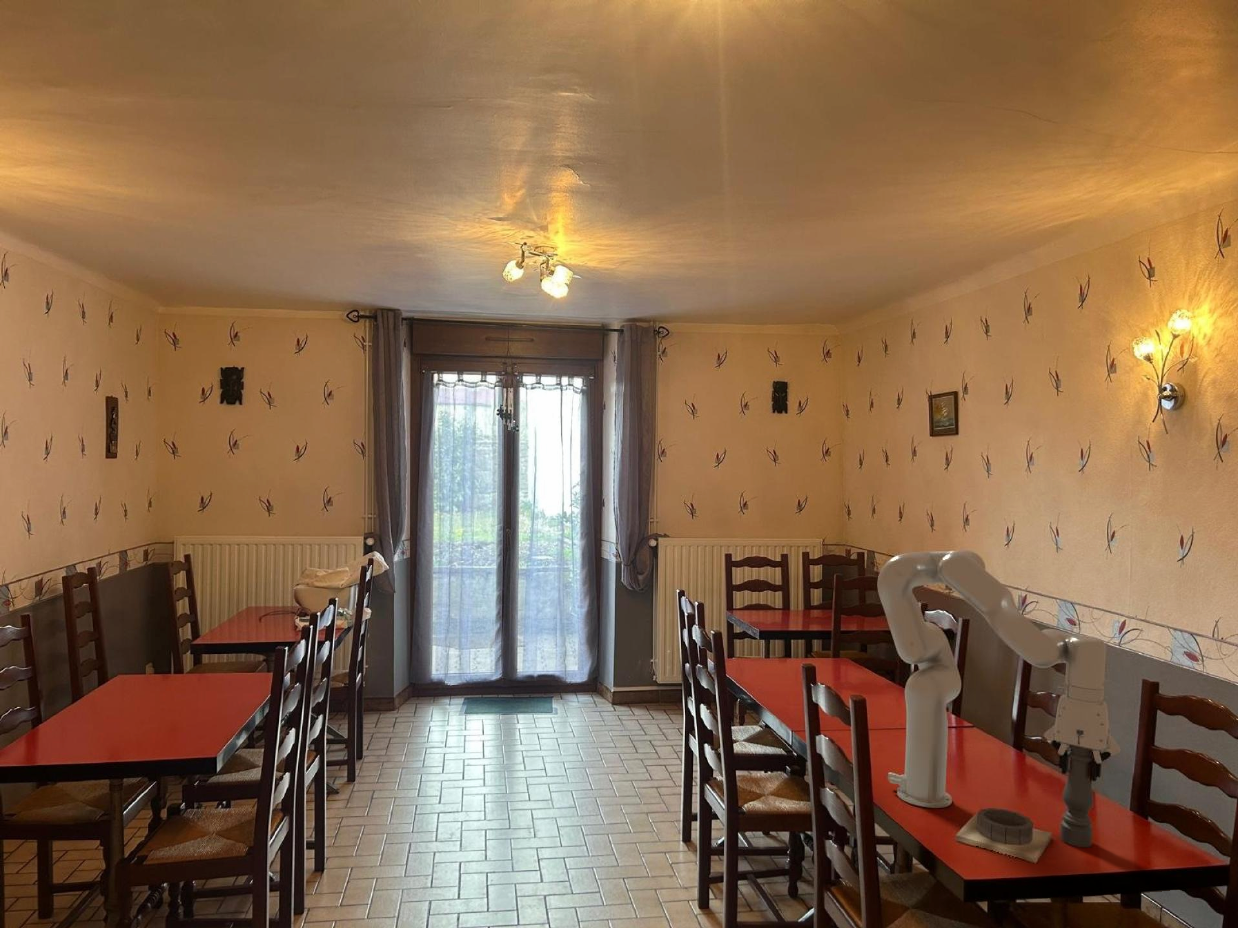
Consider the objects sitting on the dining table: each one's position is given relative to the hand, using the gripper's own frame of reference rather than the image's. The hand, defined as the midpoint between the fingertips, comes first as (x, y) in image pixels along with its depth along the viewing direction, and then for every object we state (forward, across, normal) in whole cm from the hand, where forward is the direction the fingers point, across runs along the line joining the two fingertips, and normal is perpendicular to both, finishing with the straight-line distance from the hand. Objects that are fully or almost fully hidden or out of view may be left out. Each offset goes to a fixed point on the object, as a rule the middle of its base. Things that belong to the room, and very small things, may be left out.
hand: (1079, 774), depth 189 cm
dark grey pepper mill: (+15, 0, 0) cm, 15 cm away
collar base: (+15, -12, -10) cm, 22 cm away
